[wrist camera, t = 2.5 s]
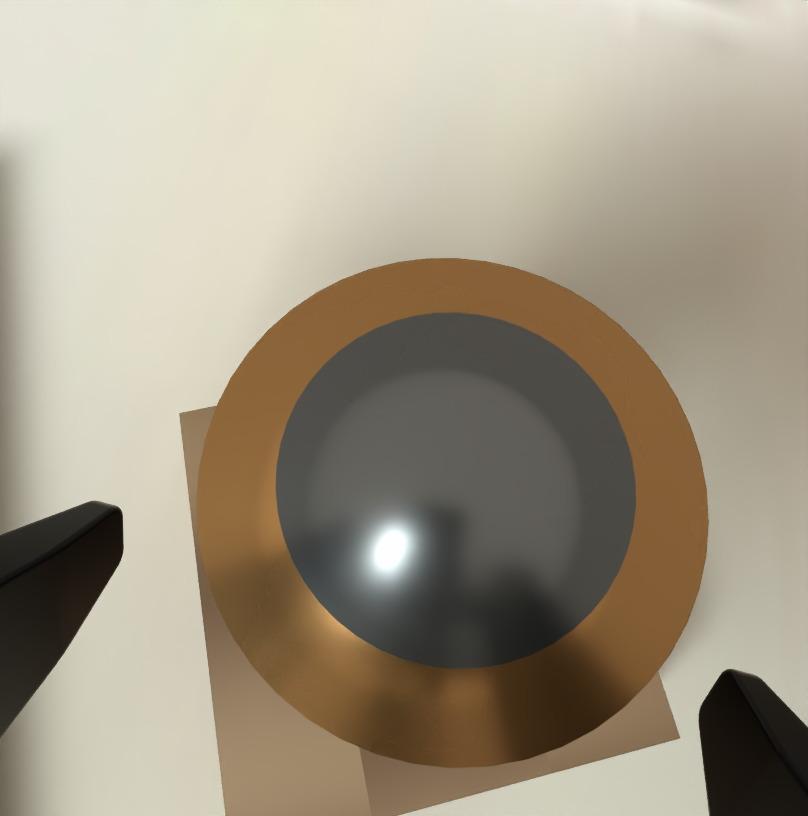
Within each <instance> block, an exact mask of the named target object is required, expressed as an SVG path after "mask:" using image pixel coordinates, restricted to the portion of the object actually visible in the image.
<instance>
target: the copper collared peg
mask: <svg viewBox="0 0 808 816" xmlns="http://www.w3.org/2000/svg"><path fill="white" fill-rule="evenodd" d="M196 506H197V526H198V538H199V543H200V549H201V554H202V559H203V565H204V570H205V573H206V576H207V579H208V582H209V585H210V588H211V591H212V594H213V597H214V600H215V603H216V605H217V607H218V609H219V611H220V613H221V615H222V617H223V619H224V621H225V623H226V625H227V627H228V629H229V631H230V633H231V635H232V637H233V638H234V640H235V641H236V643H237V644H238V646H239V647H240V649H241V650H242V652H243V653H244V655H245V656H246V658H247V659H248V661H249V662H250V663H251V665H252V666H253V668H254V669H255V670H256V671H257V672H258V673H259V674H260V675H261V676H262V677H263V679H264V680H265V681H266V682H267V683H268V684H269V685H270V686H271V687H272V689H273V690H274V691H275V692H276V693H277V694H278V695H279V696H280V697H282V698H283V699H284V700H285V701H286V702H288V703H289V704H290V705H291V706H292V707H294V708H295V709H296V710H297V711H298V712H300V713H301V714H302V715H303V716H304V717H306V718H307V719H308V720H310V721H312V722H313V723H315V724H317V725H318V726H320V727H321V728H323V729H325V730H326V731H328V732H330V733H331V734H333V735H335V736H336V737H338V738H339V739H342V740H344V741H346V742H349V743H351V744H353V745H356V746H358V747H360V748H363V749H365V750H367V751H370V752H372V753H374V754H377V755H381V756H385V757H389V758H392V759H396V760H400V761H404V762H408V763H411V764H418V765H427V766H436V767H445V768H467V767H490V766H495V765H501V764H506V763H511V762H516V761H522V760H527V759H530V758H532V757H535V756H538V755H541V754H544V753H547V752H549V751H552V750H555V749H558V748H561V747H563V746H565V745H567V744H569V743H571V742H572V741H574V740H576V739H578V738H580V737H582V736H584V735H586V734H587V733H589V732H591V731H593V730H595V729H596V728H598V727H599V726H600V725H602V724H603V723H604V722H606V721H607V720H608V719H610V718H611V717H612V716H614V715H615V714H616V713H618V712H619V711H620V710H622V709H623V708H624V707H625V706H626V705H627V704H628V703H629V702H630V701H631V700H632V699H633V698H634V697H635V696H636V695H637V694H638V693H639V692H640V691H641V690H642V689H643V688H644V687H645V686H646V685H647V684H648V683H649V682H650V681H651V679H652V678H653V677H654V675H655V674H656V673H657V671H658V670H659V669H660V667H661V666H662V664H663V663H664V662H665V660H666V659H667V658H668V656H669V655H670V654H671V652H672V650H673V648H674V646H675V644H676V642H677V641H678V639H679V637H680V635H681V633H682V631H683V629H684V627H685V626H686V624H687V622H688V619H689V616H690V613H691V611H692V608H693V605H694V602H695V599H696V597H697V594H698V591H699V588H700V583H701V578H702V573H703V569H704V564H705V559H706V551H707V537H708V523H709V522H708V505H707V489H706V484H705V479H704V473H703V468H702V463H701V458H700V454H699V451H698V448H697V445H696V442H695V439H694V436H693V433H692V430H691V427H690V424H689V422H688V420H687V418H686V416H685V414H684V412H683V409H682V407H681V405H680V403H679V401H678V399H677V397H676V395H675V394H674V392H673V390H672V389H671V387H670V385H669V384H668V382H667V381H666V379H665V377H664V376H663V374H662V373H661V371H660V370H659V368H658V367H657V366H656V365H655V363H654V362H653V361H652V360H651V358H650V357H649V356H648V355H647V353H646V352H645V351H644V350H643V348H642V347H641V346H640V345H639V344H638V343H637V342H636V341H635V340H634V339H633V338H632V337H631V336H630V335H629V334H628V333H627V332H626V331H625V330H624V329H623V328H622V327H621V326H620V325H619V324H618V323H616V322H615V321H614V320H612V319H611V318H610V317H609V316H607V315H606V314H605V313H604V312H602V311H601V310H600V309H598V308H597V307H596V306H595V305H593V304H591V303H590V302H588V301H586V300H585V299H583V298H582V297H580V296H578V295H577V294H575V293H574V292H572V291H570V290H568V289H566V288H564V287H562V286H560V285H558V284H556V283H554V282H551V281H549V280H547V279H545V278H543V277H540V276H537V275H534V274H531V273H529V272H526V271H523V270H520V269H517V268H514V267H509V266H504V265H500V264H495V263H491V262H486V261H477V260H468V259H458V258H439V259H420V260H412V261H404V262H397V263H393V264H389V265H385V266H381V267H377V268H373V269H369V270H366V271H364V272H361V273H358V274H356V275H353V276H350V277H348V278H345V279H342V280H340V281H338V282H337V283H335V284H333V285H331V286H329V287H327V288H325V289H323V290H321V291H319V292H317V293H315V294H314V295H312V296H311V297H310V298H308V299H307V300H305V301H304V302H302V303H301V304H299V305H298V306H296V307H295V308H293V309H292V310H291V311H290V312H288V313H287V314H286V315H285V316H284V317H283V318H281V319H280V320H279V321H278V322H277V323H276V324H275V325H273V326H272V327H271V328H270V329H269V330H268V331H267V332H266V333H265V334H264V336H263V337H262V338H261V339H260V340H259V341H258V342H257V343H256V345H255V346H254V347H253V348H252V349H251V350H250V351H249V353H248V354H247V355H246V357H245V358H244V360H243V361H242V363H241V364H240V366H239V367H238V368H237V370H236V371H235V373H234V374H233V376H232V377H231V379H230V381H229V383H228V385H227V387H226V389H225V391H224V393H223V395H222V397H221V398H220V400H219V402H218V404H217V407H216V409H215V412H214V415H213V418H212V420H211V423H210V426H209V429H208V432H207V434H206V438H205V443H204V447H203V452H202V456H201V461H200V465H199V474H198V486H197V498H196Z"/></svg>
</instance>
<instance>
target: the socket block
mask: <svg viewBox="0 0 808 816" xmlns="http://www.w3.org/2000/svg"><path fill="white" fill-rule="evenodd" d="M216 407H217V406H213V407H208V408H203V409H198V410H193V411H188V412H183V413H179V415H180V424H181V432H182V441H183V450H184V458H185V467H186V476H187V484H188V493H189V502H190V510H191V519H192V528H193V536H194V545H195V554H196V562H197V571H198V580H199V588H200V597H201V606H202V614H203V623H204V632H205V640H206V649H207V658H208V666H209V675H210V684H211V692H212V701H213V710H214V718H215V727H216V736H217V744H218V753H219V762H220V770H221V779H222V788H223V796H224V805H225V814H226V816H398V815H401V814H405V813H409V812H412V811H416V810H420V809H423V808H427V807H431V806H434V805H438V804H442V803H445V802H449V801H453V800H456V799H460V798H463V797H467V796H471V795H474V794H478V793H482V792H485V791H489V790H493V789H496V788H500V787H504V786H507V785H511V784H515V783H518V782H522V781H526V780H529V779H533V778H537V777H540V776H544V775H548V774H551V773H555V772H559V771H562V770H566V769H569V768H573V767H577V766H580V765H584V764H588V763H591V762H595V761H599V760H602V759H606V758H610V757H613V756H617V755H621V754H624V753H628V752H632V751H635V750H639V749H643V748H646V747H650V746H654V745H657V744H661V743H665V742H668V741H672V740H676V739H679V738H680V736H679V733H678V730H677V727H676V724H675V721H674V718H673V715H672V712H671V709H670V706H669V703H668V700H667V697H666V694H665V691H664V688H663V685H662V682H661V679H660V676H659V673H658V671H657V673H656V674H655V675H654V677H653V678H652V679H651V681H650V682H649V683H648V684H647V685H646V686H645V687H644V688H643V689H642V690H641V691H640V692H639V693H638V694H637V695H636V696H635V697H634V698H633V699H632V700H631V701H630V702H629V703H628V704H627V705H626V706H625V707H624V708H623V709H622V710H620V711H619V712H618V713H616V714H615V715H614V716H612V717H611V718H610V719H608V720H607V721H606V722H604V723H603V724H602V725H600V726H599V727H598V728H596V729H595V730H593V731H591V732H589V733H587V734H586V735H584V736H582V737H580V738H578V739H576V740H574V741H572V742H571V743H569V744H567V745H565V746H563V747H561V748H558V749H555V750H552V751H549V752H547V753H544V754H541V755H538V756H535V757H532V758H530V759H527V760H522V761H516V762H511V763H506V764H501V765H495V766H490V767H467V768H445V767H436V766H427V765H418V764H411V763H408V762H404V761H400V760H396V759H392V758H389V757H385V756H381V755H377V754H374V753H372V752H370V751H367V750H365V749H363V748H360V747H358V746H356V745H353V744H351V743H349V742H346V741H344V740H342V739H339V738H338V737H336V736H335V735H333V734H331V733H330V732H328V731H326V730H325V729H323V728H321V727H320V726H318V725H317V724H315V723H313V722H312V721H310V720H308V719H307V718H306V717H304V716H303V715H302V714H301V713H300V712H298V711H297V710H296V709H295V708H294V707H292V706H291V705H290V704H289V703H288V702H286V701H285V700H284V699H283V698H282V697H280V696H279V695H278V694H277V693H276V692H275V691H274V690H273V689H272V687H271V686H270V685H269V684H268V683H267V682H266V681H265V680H264V679H263V677H262V676H261V675H260V674H259V673H258V672H257V671H256V670H255V669H254V668H253V666H252V665H251V663H250V662H249V661H248V659H247V658H246V656H245V655H244V653H243V652H242V650H241V649H240V647H239V646H238V644H237V643H236V641H235V640H234V638H233V637H232V635H231V633H230V631H229V629H228V627H227V625H226V623H225V621H224V619H223V617H222V615H221V613H220V611H219V609H218V607H217V605H216V603H215V600H214V597H213V594H212V591H211V588H210V585H209V582H208V579H207V576H206V573H205V570H204V565H203V559H202V554H201V549H200V543H199V538H198V526H197V506H196V498H197V486H198V474H199V465H200V461H201V456H202V452H203V447H204V443H205V438H206V434H207V432H208V429H209V426H210V423H211V420H212V418H213V415H214V412H215V409H216Z"/></svg>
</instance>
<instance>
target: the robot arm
mask: <svg viewBox="0 0 808 816" xmlns="http://www.w3.org/2000/svg"><path fill="white" fill-rule="evenodd" d="M123 548H124V545H123V515H122V511H121V509H120V508H119V507H117V506H115V505H111V504H107V503H104V502H100V501H90V502H87V503H84V504H81V505H79V506H76V507H73V508H71V509H68V510H66V511H63V512H60V513H58V514H55V515H52V516H50V517H47V518H44V519H42V520H39V521H36V522H34V523H31V524H29V525H26V526H23V527H21V528H18V529H15V530H13V531H10V532H7V533H5V534H2V535H0V738H1V736H2V735H3V734H4V732H5V731H6V730H7V728H8V727H9V726H10V724H11V723H12V722H13V721H14V719H15V718H16V717H17V715H18V714H19V713H20V711H21V710H22V709H23V707H24V706H25V705H26V703H27V702H28V701H29V700H30V698H31V697H32V696H33V694H34V693H35V692H36V690H37V689H38V688H39V686H40V685H41V684H42V682H43V681H44V680H45V679H46V677H47V676H48V675H49V673H50V672H51V671H52V669H53V668H54V667H55V665H56V664H57V662H58V661H59V660H60V658H61V657H62V656H63V654H64V653H65V651H66V649H67V648H68V646H69V645H70V643H71V642H72V640H73V639H74V637H75V635H76V634H77V632H78V630H79V629H80V627H81V626H82V624H83V622H84V621H85V619H86V617H87V616H88V614H89V612H90V611H91V609H92V608H93V606H94V604H95V603H96V601H97V599H98V598H99V596H100V594H101V593H102V591H103V590H104V588H105V586H106V585H107V583H108V581H109V580H110V578H111V577H112V575H113V573H114V572H115V570H116V568H117V567H118V565H119V563H120V561H121V558H122V555H123ZM699 730H700V738H701V747H702V756H703V764H704V773H705V782H706V790H707V799H708V808H709V816H808V727H807V726H806V725H805V724H804V723H803V722H802V721H801V720H800V719H799V718H798V717H797V715H796V714H795V713H794V712H793V711H792V710H791V709H790V708H789V707H788V706H787V705H786V704H785V703H784V702H783V701H782V700H781V699H780V698H779V697H778V696H777V695H776V694H775V693H774V692H773V691H772V690H771V688H770V687H769V686H768V685H767V684H766V683H765V682H764V681H763V680H762V679H761V678H759V677H758V676H755V675H753V674H749V673H745V672H742V671H738V670H734V669H727V670H725V671H724V672H722V674H721V675H720V676H719V678H718V679H717V681H716V683H715V684H714V686H713V687H712V689H711V690H710V692H709V694H708V695H707V697H706V698H705V700H704V701H703V703H702V705H701V708H700V711H699Z"/></svg>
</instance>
